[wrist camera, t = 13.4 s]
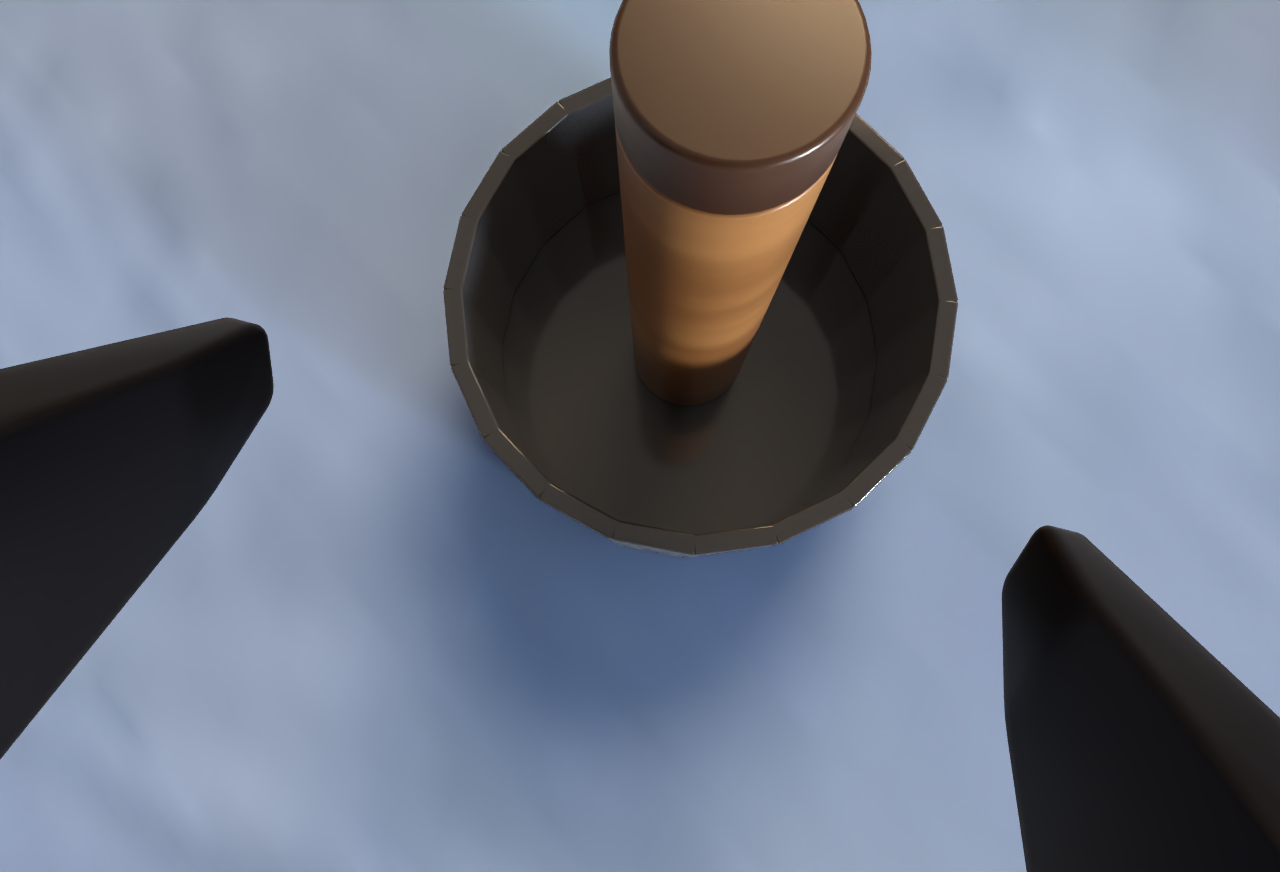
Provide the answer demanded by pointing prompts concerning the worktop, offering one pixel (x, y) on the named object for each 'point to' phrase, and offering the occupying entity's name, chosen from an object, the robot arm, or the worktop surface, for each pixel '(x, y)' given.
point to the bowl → (768, 379)
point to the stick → (723, 166)
